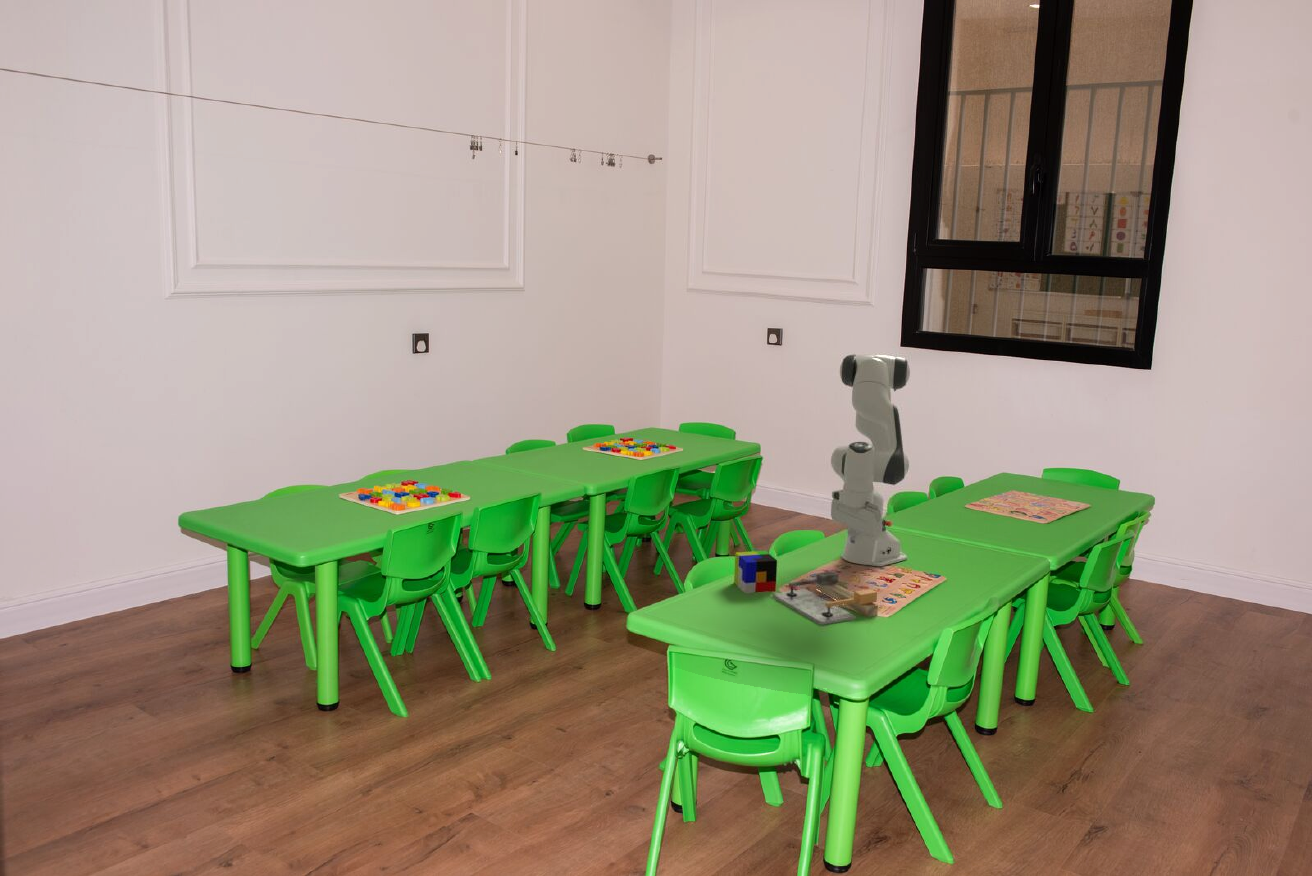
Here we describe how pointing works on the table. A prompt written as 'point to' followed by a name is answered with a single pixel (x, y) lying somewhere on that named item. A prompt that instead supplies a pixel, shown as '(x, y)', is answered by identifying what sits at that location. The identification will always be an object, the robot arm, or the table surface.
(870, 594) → the sliding leg
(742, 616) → the table surface
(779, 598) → the bolt plate
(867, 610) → the dividers rail
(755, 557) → the puzzle toy
